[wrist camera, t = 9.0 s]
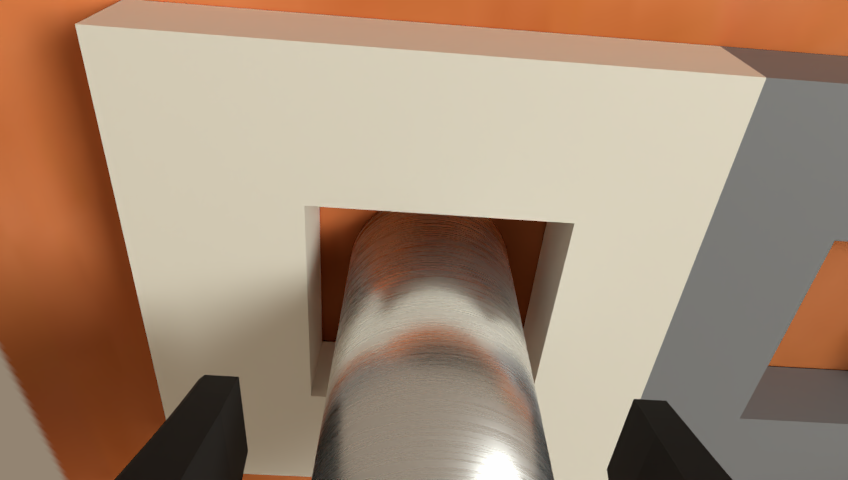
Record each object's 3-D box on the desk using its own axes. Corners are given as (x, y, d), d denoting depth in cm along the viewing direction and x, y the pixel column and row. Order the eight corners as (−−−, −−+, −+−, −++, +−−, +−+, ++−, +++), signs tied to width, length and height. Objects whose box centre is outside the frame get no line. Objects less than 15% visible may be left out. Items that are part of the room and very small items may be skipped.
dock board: (1269, 89, 13) (1394, 126, 11) (956, 452, 19) (1006, 509, 18) (123, -2, 12) (75, 24, 10) (200, 413, 18) (177, 470, 17)
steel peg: (519, 202, 14) (604, 512, 8) (496, 329, 17) (544, 656, 10) (351, 191, 14) (287, 498, 8) (350, 320, 16) (299, 647, 10)
